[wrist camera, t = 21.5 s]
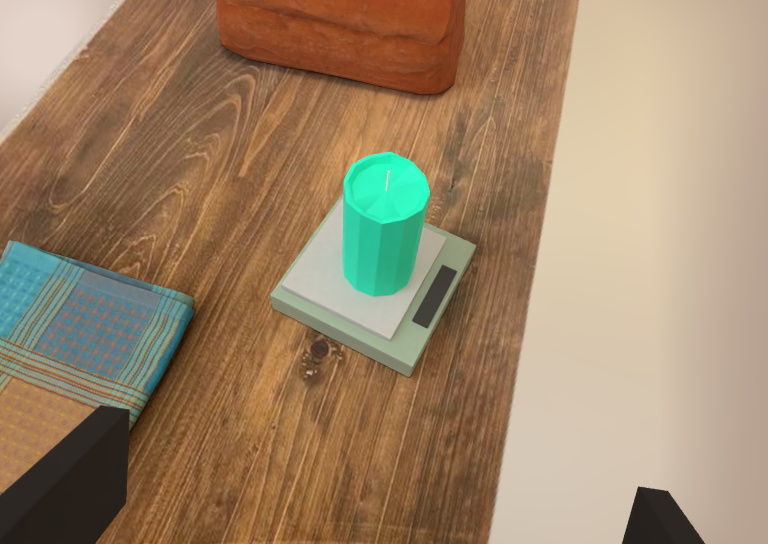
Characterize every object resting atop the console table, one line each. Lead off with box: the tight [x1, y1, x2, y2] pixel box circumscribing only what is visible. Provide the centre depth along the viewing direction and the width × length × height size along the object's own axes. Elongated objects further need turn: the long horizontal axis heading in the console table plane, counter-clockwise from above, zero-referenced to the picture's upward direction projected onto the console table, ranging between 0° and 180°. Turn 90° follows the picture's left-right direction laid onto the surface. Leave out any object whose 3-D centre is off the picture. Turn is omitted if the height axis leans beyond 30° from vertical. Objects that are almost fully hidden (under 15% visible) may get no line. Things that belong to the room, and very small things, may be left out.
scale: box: [270, 193, 476, 377], centre depth 51 cm, size 13×13×3 cm
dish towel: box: [0, 240, 195, 495], centre depth 44 cm, size 17×23×2 cm
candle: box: [342, 152, 430, 297], centre depth 44 cm, size 6×6×12 cm
